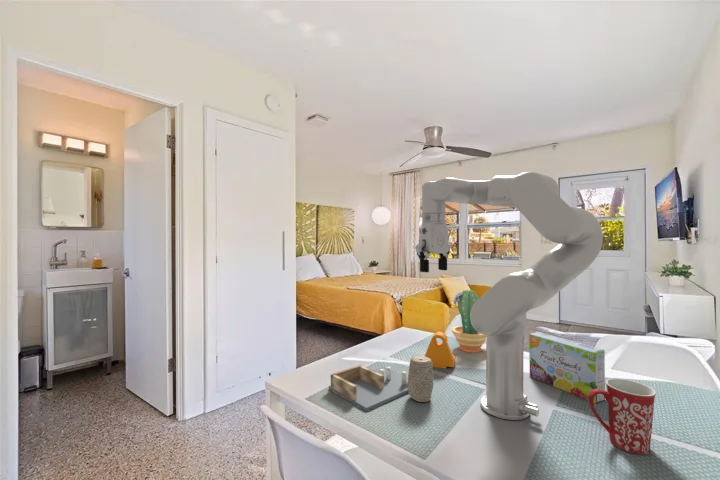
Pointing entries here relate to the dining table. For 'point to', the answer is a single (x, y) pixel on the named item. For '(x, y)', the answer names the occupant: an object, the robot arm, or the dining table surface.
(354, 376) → the end holder
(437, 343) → the bracket
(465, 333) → the potted cactus
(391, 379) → the board
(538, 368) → the snack box
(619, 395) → the mug
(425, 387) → the carving
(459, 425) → the dining table surface
